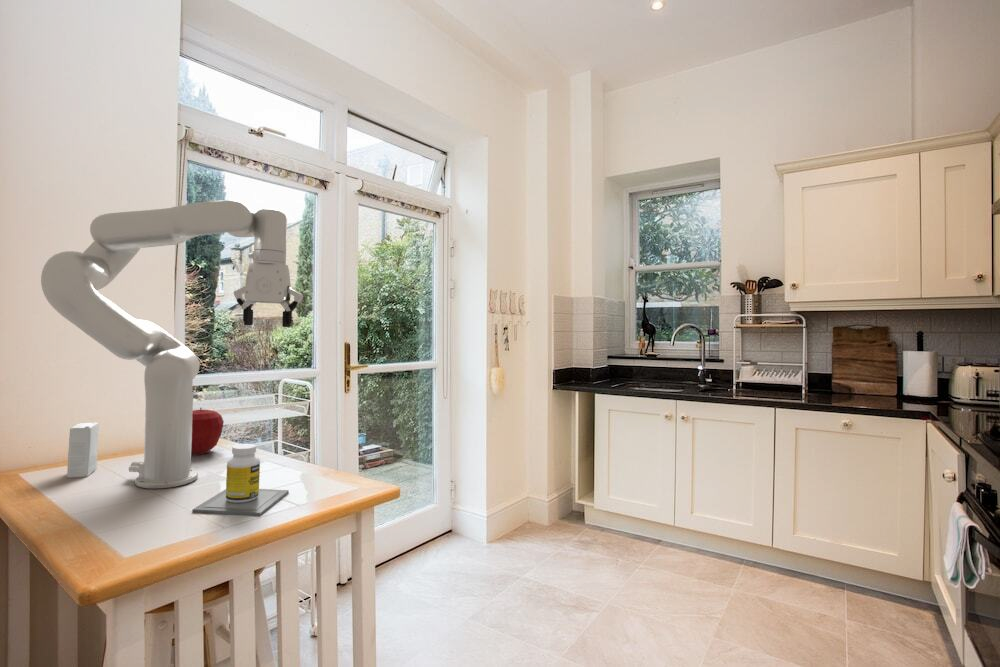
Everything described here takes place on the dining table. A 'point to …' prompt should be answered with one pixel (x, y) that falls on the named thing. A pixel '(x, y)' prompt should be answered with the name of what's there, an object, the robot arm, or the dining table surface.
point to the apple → (205, 430)
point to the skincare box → (82, 450)
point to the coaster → (253, 507)
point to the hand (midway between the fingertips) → (267, 326)
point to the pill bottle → (243, 474)
